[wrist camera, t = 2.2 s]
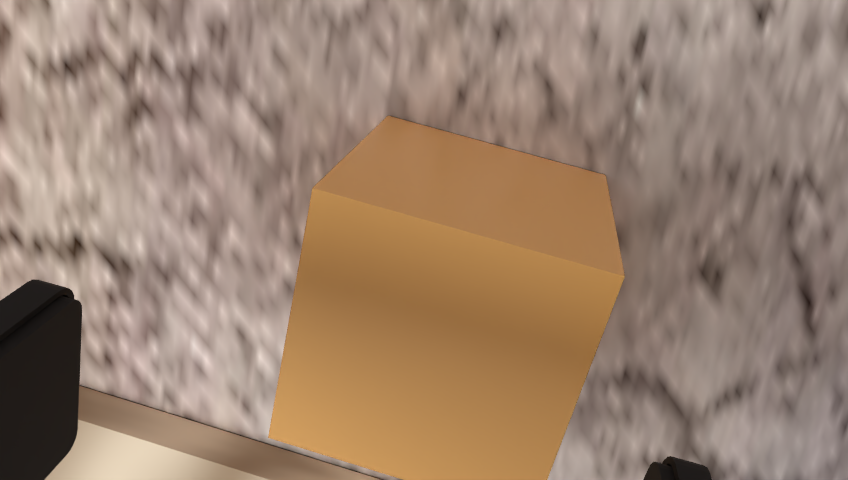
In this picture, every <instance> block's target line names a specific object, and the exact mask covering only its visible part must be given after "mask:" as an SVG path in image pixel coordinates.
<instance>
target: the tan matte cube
mask: <svg viewBox="0 0 848 480" xmlns="http://www.w3.org/2000/svg"><path fill="white" fill-rule="evenodd" d="M624 277H625V274H624V269H623V264H622V259H621V253H620V248H619V243H618V237H617V232H616V227H615V222H614V216H613V211H612V206H611V200H610V195H609V190H608V185H607V179H606V175H603V174H600V173H596V172H592V171H589V170H585V169H582V168H578V167H574V166H571V165H567V164H563V163H560V162H556V161H552V160H549V159H545V158H541V157H538V156H534V155H530V154H527V153H523V152H519V151H516V150H512V149H508V148H505V147H501V146H497V145H494V144H490V143H486V142H483V141H479V140H475V139H472V138H468V137H464V136H461V135H457V134H454V133H450V132H446V131H443V130H439V129H435V128H432V127H428V126H424V125H421V124H417V123H413V122H410V121H406V120H402V119H399V118H395V117H391V116H387V117H386V118H385V119H384V120H383V121H382V122H381V123H380V124H379V125H378V126H377V127H376V128H375V129H374V130H373V131H371V132H370V133H369V134H368V135H367V136H366V137H365V138H364V139H363V140H362V141H361V142H360V143H359V144H358V145H357V146H356V147H355V148H354V149H353V150H352V151H351V152H350V153H349V154H347V155H346V156H345V157H344V158H343V159H342V160H341V161H340V162H339V163H338V164H337V165H336V166H335V167H334V168H333V169H332V170H331V171H330V172H329V173H328V174H327V175H326V176H325V177H323V178H322V179H321V180H320V181H319V182H318V183H317V184H316V185H315V186H314V187H313V188H312V194H311V199H310V205H309V211H308V216H307V222H306V228H305V233H304V239H303V244H302V250H301V256H300V261H299V267H298V273H297V278H296V284H295V289H294V295H293V301H292V306H291V312H290V318H289V323H288V329H287V335H286V340H285V346H284V351H283V357H282V363H281V368H280V374H279V380H278V385H277V391H276V396H275V402H274V408H273V413H272V419H271V425H270V430H269V436H268V438H271V439H274V440H277V441H281V442H284V443H287V444H290V445H294V446H297V447H300V448H303V449H306V450H310V451H313V452H316V453H319V454H322V455H326V456H329V457H332V458H335V459H339V460H342V461H345V462H348V463H351V464H355V465H358V466H361V467H364V468H368V469H371V470H374V471H377V472H380V473H384V474H387V475H390V476H393V477H396V478H400V479H403V480H547V479H548V476H549V473H550V471H551V468H552V466H553V463H554V460H555V458H556V455H557V453H558V450H559V447H560V445H561V442H562V439H563V437H564V434H565V432H566V429H567V426H568V424H569V421H570V419H571V416H572V413H573V411H574V408H575V405H576V403H577V400H578V398H579V395H580V392H581V390H582V387H583V385H584V382H585V379H586V377H587V374H588V372H589V369H590V366H591V364H592V361H593V358H594V356H595V353H596V351H597V348H598V345H599V343H600V340H601V338H602V335H603V332H604V330H605V327H606V324H607V322H608V319H609V317H610V314H611V311H612V309H613V306H614V304H615V301H616V298H617V296H618V293H619V291H620V288H621V285H622V283H623V280H624Z"/></svg>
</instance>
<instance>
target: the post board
mask: <svg viewBox="0 0 848 480" xmlns="http://www.w3.org/2000/svg"><path fill="white" fill-rule="evenodd" d="M45 480H380V479H377V478H374V477H371V476H367V475H364V474H361V473H358V472H355V471H351V470H348V469H345V468H342V467H339V466H335V465H332V464H329V463H326V462H323V461H319V460H316V459H313V458H310V457H306V456H303V455H300V454H297V453H294V452H290V451H287V450H284V449H281V448H278V447H274V446H271V445H268V444H265V443H262V442H258V441H255V440H252V439H249V438H246V437H242V436H239V435H236V434H233V433H229V432H226V431H223V430H220V429H217V428H213V427H210V426H207V425H204V424H201V423H197V422H194V421H191V420H188V419H185V418H181V417H178V416H175V415H172V414H168V413H165V412H162V411H159V410H156V409H152V408H149V407H146V406H143V405H140V404H136V403H133V402H130V401H127V400H124V399H120V398H117V397H114V396H111V395H107V394H104V393H101V392H98V391H95V390H91V389H88V388H85V387H82V386H79V407H78V431H77V436H76V440H75V442H74V444H73V446H72V448H71V450H70V451H69V453H68V454H67V455H66V456H65V457H64V459H63V460H62V461H61V462H60V463H59V464H58V465H57V466H56V467H55V469H54V470H53V471H52V472H51V473H50V474H49V475H48V476H47V477H46V479H45Z"/></svg>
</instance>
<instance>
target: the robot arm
mask: <svg viewBox="0 0 848 480" xmlns="http://www.w3.org/2000/svg"><path fill="white" fill-rule="evenodd" d="M81 323H82V305H81V303H80V302H79V301H78V300H75V299H74V294H73V292H72V290H70V289H69V288H65V287H62V286H58V285H55V284H51V283H48V282H44V281H40V280H31V281H29V282H27V283H26V284H24V285H23V286H21V287H20V288H18V289H17V290H15V291H14V292H12V293H11V294H10V295H8V296H7V297H5V298H4V299H2V300H1V301H0V480H45V479H46V477H47V476H48V475H49V474H50V473H51V472H52V471H53V470H54V469H55V467H56V466H57V465H58V464H59V463H60V462H61V461H62V460H63V459H64V457H65V456H66V455H67V454H68V453H69V451H70V450H71V448H72V446H73V444H74V442H75V440H76V436H77V431H78V407H79V379H80V351H81ZM644 480H712V479H711V476H710V473H709V470H708V468H707V467H705V466H703V465H700V464H696V463H693V462H689V461H685V460H682V459H678V458H675V457H671V456H670V457H667V458H666V459H665V460H664V461H663V463H662V464H661V463H658V462H653V463H652V464H651V465H650V467H649V469H648V471H647V473H646V475H645V477H644Z"/></svg>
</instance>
